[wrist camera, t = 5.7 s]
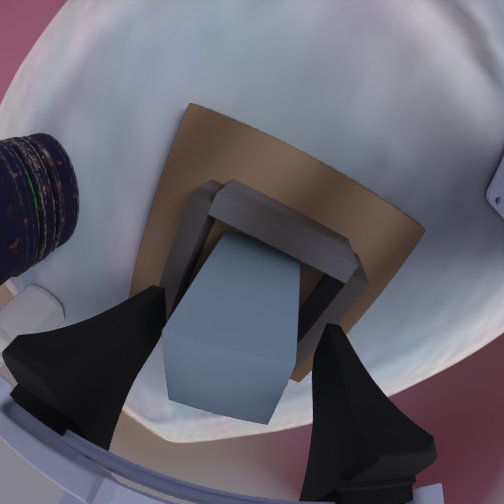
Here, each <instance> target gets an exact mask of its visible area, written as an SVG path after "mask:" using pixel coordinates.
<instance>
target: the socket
mask: <svg viewBox="0 0 504 504" xmlns="http://www.w3.org/2000/svg"><path fill="white" fill-rule="evenodd" d="M226 231H230V232H235V233H239V234H244V235H249V236H253V237H255V238H257V239H259V240H261V241H263V242H265V243H267V244H269V245H271V246H273V247H275V248H277V249H279V250H281V251H283V252H285V253H287V254H289V255H291V256H293V257H295V258H297V259H299V260H300V281H299V310H298V332H297V350H296V364H295V367H294V369H293V371H292V374H291V376H290V378H289V379H292V380H294V381H297V382H300V381H301V380H302V379H303V378H304V377H305V376H306V375H307V374H308V373H309V372H310V371H311V370H312V367H313V356H314V353H315V350H316V348H317V346H318V343H319V341H320V338H321V336H322V333H323V331H324V328H325V326H326V323H332V324H338V325H340V326H341V327H342V329H343V331H344V333H345V335H346V334H347V333H348V331H349V330H350V329H351V328H352V327H353V326H354V325H355V323H356V322H357V321H358V320H359V319H360V318H361V317H362V315H363V314H364V313H365V312H366V311H367V309H368V308H369V307H370V306H371V305H372V303H373V302H374V301H375V300H376V298H377V297H378V296H379V295H380V293H381V292H382V291H383V290H384V288H385V287H386V286H387V284H388V283H389V282H390V281H391V279H392V278H393V277H394V275H395V274H396V273H397V271H398V270H399V269H400V267H401V266H402V264H403V263H404V262H405V260H406V259H407V257H408V256H409V255H410V253H411V252H412V250H413V249H414V247H415V246H416V245H417V243H418V242H419V240H420V239H421V237H422V236H423V234H424V233H425V231H426V230H425V229H424V228H423V227H422V226H421V225H420V224H419V223H417V222H416V221H415V220H413V219H412V218H410V217H409V216H408V215H406V214H405V213H403V212H402V211H400V210H399V209H398V208H396V207H395V206H393V205H392V204H390V203H389V202H387V201H386V200H384V199H383V198H381V197H380V196H378V195H376V194H375V193H373V192H372V191H370V190H369V189H367V188H365V187H364V186H362V185H361V184H359V183H357V182H356V181H354V180H352V179H351V178H349V177H347V176H346V175H344V174H342V173H340V172H339V171H337V170H335V169H334V168H332V167H330V166H328V165H326V164H325V163H323V162H321V161H319V160H317V159H316V158H314V157H312V156H310V155H308V154H306V153H304V152H302V151H300V150H299V149H297V148H295V147H293V146H291V145H289V144H287V143H285V142H283V141H281V140H279V139H277V138H274V137H272V136H270V135H268V134H266V133H264V132H262V131H260V130H257V129H255V128H253V127H251V126H249V125H246V124H244V123H242V122H239V121H237V120H235V119H232V118H230V117H228V116H225V115H223V114H220V113H218V112H215V111H213V110H210V109H208V108H205V107H203V106H200V105H197V104H192V103H189V105H188V108H187V110H186V112H185V115H184V117H183V120H182V122H181V125H180V127H179V130H178V132H177V135H176V137H175V140H174V142H173V145H172V148H171V150H170V153H169V156H168V159H167V161H166V164H165V167H164V170H163V173H162V176H161V179H160V182H159V185H158V188H157V191H156V194H155V197H154V201H153V204H152V207H151V210H150V214H149V217H148V221H147V224H146V228H145V231H144V235H143V239H142V243H141V247H140V250H139V254H138V259H137V263H136V267H135V271H134V276H133V280H132V285H131V290H130V294H129V298H131V297H133V296H134V295H136V294H138V293H140V292H141V291H143V290H145V289H147V288H148V287H150V286H152V285H155V286H159V287H162V288H165V299H166V318H167V322H168V321H169V319H170V317H171V316H172V314H173V313H174V311H175V309H176V308H177V306H178V304H179V303H180V301H181V300H182V298H183V297H184V295H185V293H186V292H187V290H188V289H189V287H190V285H191V284H192V282H193V281H194V279H195V278H196V276H197V274H198V273H199V271H200V270H201V268H202V267H203V265H204V264H205V262H206V260H207V259H208V257H209V256H210V254H211V253H212V251H213V250H214V248H215V247H216V245H217V244H218V242H219V241H220V239H221V238H222V236H223V235H224V233H225V232H226ZM166 324H167V323H166ZM165 326H166V325H165Z"/></svg>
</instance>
